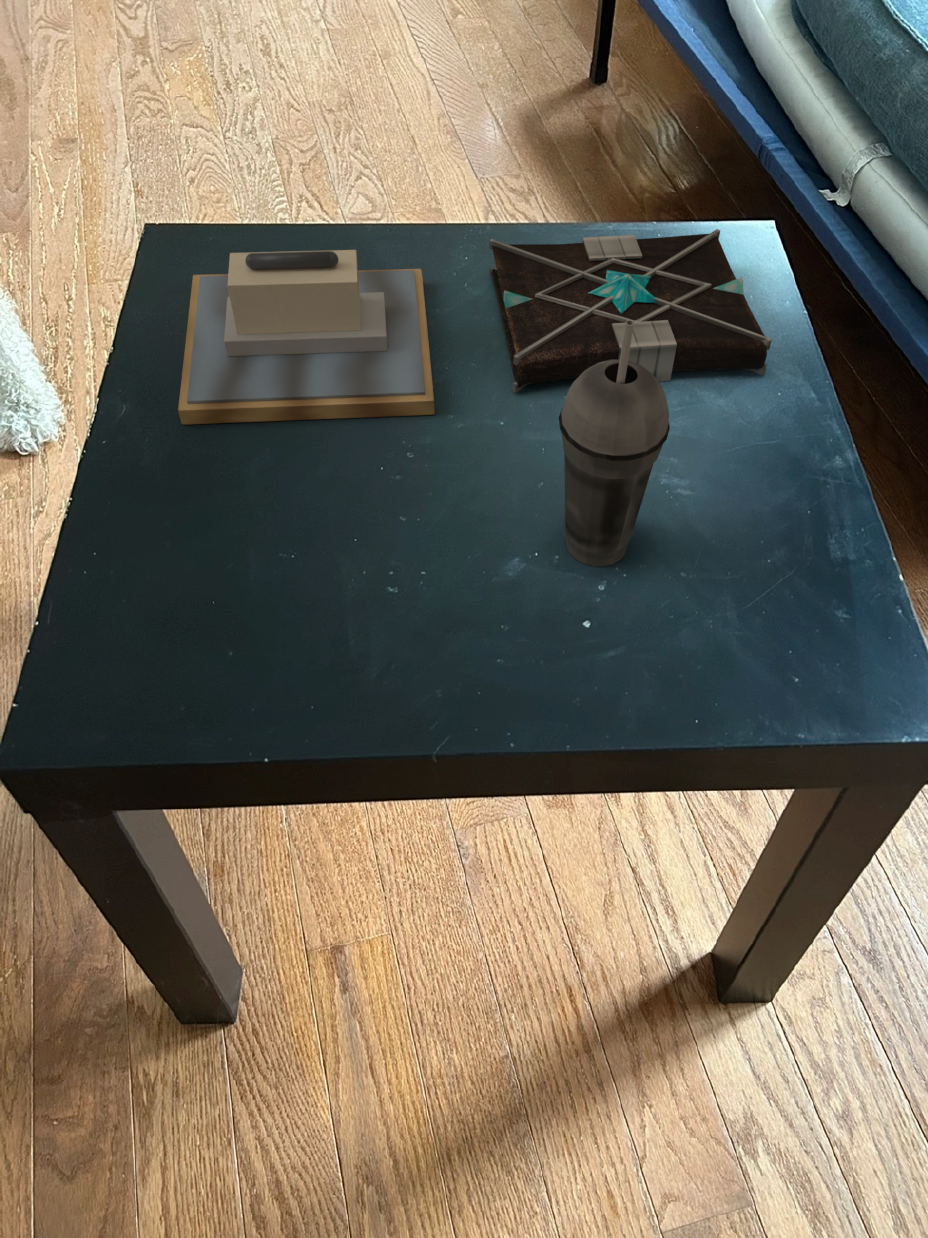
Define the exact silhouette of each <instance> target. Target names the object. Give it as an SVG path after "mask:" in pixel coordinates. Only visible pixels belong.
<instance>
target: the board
mask: <svg viewBox="0 0 928 1238" xmlns="http://www.w3.org/2000/svg"><path fill="white" fill-rule="evenodd" d="M358 276H359V288H360V293H375V292H384V300H385V316H386V332H387V349H388V350H387V351H372V352H342V353H313V354H284V355H254V356H227V354H226V349H225V344H224V335H225V322H226V309H227V297H230V296H229V291H228V286H227V285H228V273H215V274H214V273H212V274H209V273H207V274H193V275H192V281H191V291H190V299H189V300H190V301H189V307H188V308H189V309H188V318H187V325H186V335H185V336H186V337H185V345H184V354H183V363H182V371H181V380H180V389H179V399H178V408H177V412H178V415H179V416H178V417H179V419H180V423H181V425H183V426H185V425H209V424H211V425H212V424H231V423H234V424H235V423H258V422H259V423H261V422H284V421H287V422H288V421H309V420H312V421H313V420H333V419H334V420H335V419H336V420H337V419H359V418H360V419H361V418H362V419H363V418H381V417H383V418H387V417H407V416H409V417H412V416H433V415H435V412H436V411H435V394H434V384H433V383H434V382H433V372H432V363H431V362H432V361H431V352H430V351H431V350H430V341H429V332H428V320H427V310H426V300H425V289H424V279H423V270H422V268H397V269H396V268H395V269H391V268H390V269H360V270H359V269H358Z"/></svg>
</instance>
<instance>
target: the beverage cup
mask: <svg viewBox="0 0 928 1238" xmlns="http://www.w3.org/2000/svg"><path fill="white" fill-rule="evenodd" d="M633 326H634V322H633V321H632V320H627V321H626V322H625V328H624V334H623V341H622V348H621V354H620V359H615V360H607V361H603V362H600V363H597V364H595V365H593V366H591V367H589V368H588V369H586V370H585V371H584V372H583V373H582V374H581V375H580V376H579V377H578V378H575V380H574V381H573V382H572V383H571V385H570V386H569V388H568V390H567V393H566V396H565V398H564V402H563V405H562V407H561V410H560V413H559V416H558V423H559V430H560V433H561V441H562V447H563V453H564V454H563V455H564V459H563V460H564V528H565V529H564V530H565V536H566V538H565V543H566V549H567V551H568V553H569V554H570V556H572V558H574V559H575V560H576V561H577V562H579V563H581V564H583V565H585V566H590V567H594V568H595V567H607V566H611V565H614V564H616V563H617V562H619V561H621V560H622V559H623V557H624V556H625V555H626V552H627V548H628V547H629V544H630V541H632V536H633V533H634V529H635V526H636V523H637V520H638V517H639V516H638V515H639V513H640V510H641V506H642V504H643V499H644V496H645V493H646V489H647V486H648V483H649V480H650V477H651V473H652V470H653V467H654V464H655V462H656V461H657V460H658V458H659V456H660V453H661V452H662V448H663V446H664V444H665V443H666V441H667V440H668V436H669V433H670V430H671V429H670V427H671V426H670V421H669V419H670V413H669V412H670V411H669V406H668V400H667V397H666V392H665V390H664V389H663V386H662V385H661V383H660V381H659V382H658V381H657V379H656V378H655V377H654V375H653V374H652V373H651V372H649V371H648V370H647V369H645V368H644V367H642V366H641V365H639V364H636V363H634V362H632V361H628V358H629V352H630V345H631V339H632V332H633Z"/></svg>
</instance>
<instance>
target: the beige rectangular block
mask: <svg viewBox="0 0 928 1238" xmlns="http://www.w3.org/2000/svg"><path fill="white" fill-rule="evenodd" d="M358 267H359V266H358V254H357V249H336V250H335V249H333V250H331V249H330V250H296V251H293V250H290V251H258V252H256V251H254V252H230V253H229V259H228V272H227V274H228V285H227V286H228V291H229V296H230V297H227V309H226V322H225V335H224V344H225V349H226V354H227V356H254V355H284V354H313V353H342V352H372V351H387V350H388V349H387V332H386V316H385V300H384V292H375V293H360V288H359V276H358V270H359V268H358Z"/></svg>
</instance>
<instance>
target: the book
mask: <svg viewBox="0 0 928 1238" xmlns="http://www.w3.org/2000/svg"><path fill="white" fill-rule="evenodd" d="M720 234H721V230H720V229H719V228H716V229H715V230H712V231H711V232H709V233H698V234H686V235H676V236H675V235H674V236H663V237H648V238H636V235H635V234H624V235H607V236H606V235H605V236H604V235H603V236H589V237H586V236H585V237H582V241H581V242H572V243H547V244H546V243H538V244H535V243H533V244H531V243H529V244H527V243H526V244H525V243H522V244H516V243H515V244H511V243H510V244H508V243H504V242H501V241H499V240H496V239H493V238H491V239H490V240H489V246H488V247H489V250H492V254H493V258H494V263H495V267H494V266H491V267H490V268H489V277H491V278H492V282H493V288H494V291H495V296H496V299H497V304H498V309H499V314H500V317H501V323H502V327H503V332H504V336H505V340H506V344H507V350H508V354H509V359H510V364H511V369H512V375H513V379H514V381H513V382H512V389H511V391H512V392H514V393H515V394H517V392H519V391H520V390H522V389H523V388H525V387H526V386H528V385H532V384H540V383H546V382H555V381H561V380H562V381H563V380H569V379H577V378H578V377H579V376H580V375H581V374H582V373H583V372H584V371H585V370H586V369H588V368H589V367H591V366H593V365H595V364H597V363H600V362H603V361H607V360H615V359H620V354H621V348H622V341H623V334H624V328H625V322H626V321H627V320H632V321H633V322H634V326H633V332H632V339H631V345H630V352H629V358H628V361H632V362H634V363H636V364H639V365H641V366H642V367H644V368H645V369H647V370H648V371H649V372H651V373H652V374H653V375H654V377H655V378H656V379H657V381H658V382H659V383H660V382H670V381H671V378H672V372H673V373H674V372H692V371H722V370H724V371H726V370H747V371H750V372H752V373H754V374H758V375H760V376H764V375H765V374H766V371H767V367H768V364H766V360H767V357H768V351H769V350H770V348H771V346H772V341H773V338H771V337H768V336H765V334H764V332H763V329H762V328H761V326H760V324H759V323H758V321H757V318H756V317H755V315H754V313H753V311H752V309H751V307H750V306H749V303H748V301H747V298H746V297H745V294H744V280H743V278H744V277H743V276H741V277H739V278H736V276H735V274H734V271H733V269H732V266H731V264H730V263H729V261H728V258H727V255H726V254H725V251H724V249H723V248H724V247H722V246H723V245H722V243H721V242H720ZM495 268H496V269H495Z"/></svg>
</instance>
